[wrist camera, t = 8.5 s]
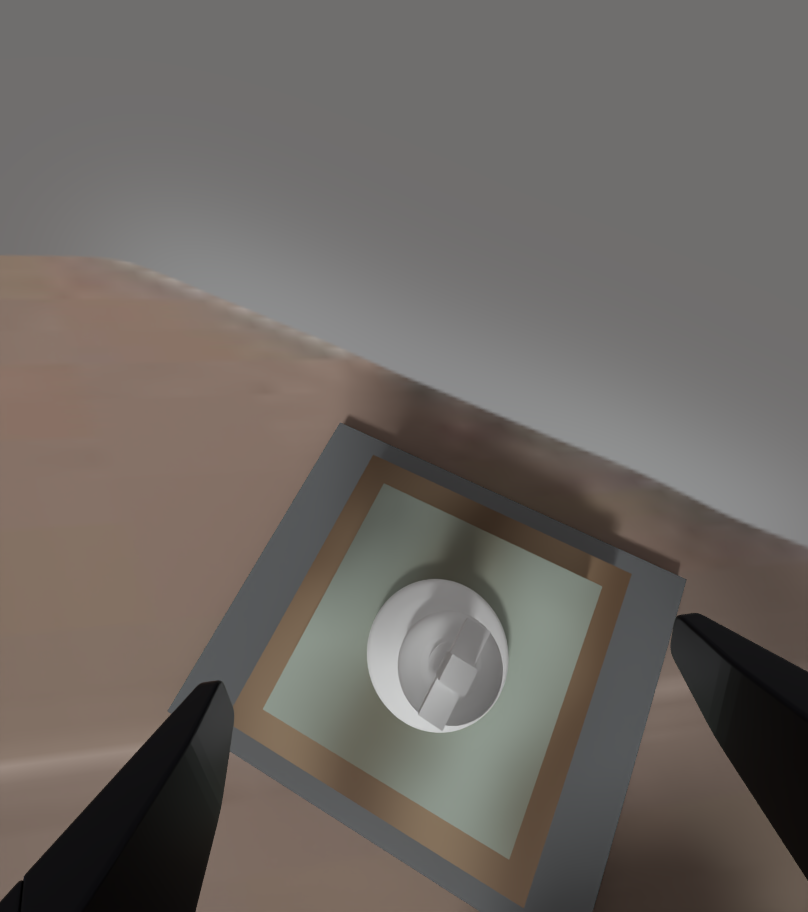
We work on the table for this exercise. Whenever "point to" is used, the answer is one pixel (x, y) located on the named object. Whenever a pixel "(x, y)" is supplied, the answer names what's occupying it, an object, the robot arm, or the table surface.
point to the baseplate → (605, 726)
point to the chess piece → (437, 655)
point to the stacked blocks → (427, 753)
